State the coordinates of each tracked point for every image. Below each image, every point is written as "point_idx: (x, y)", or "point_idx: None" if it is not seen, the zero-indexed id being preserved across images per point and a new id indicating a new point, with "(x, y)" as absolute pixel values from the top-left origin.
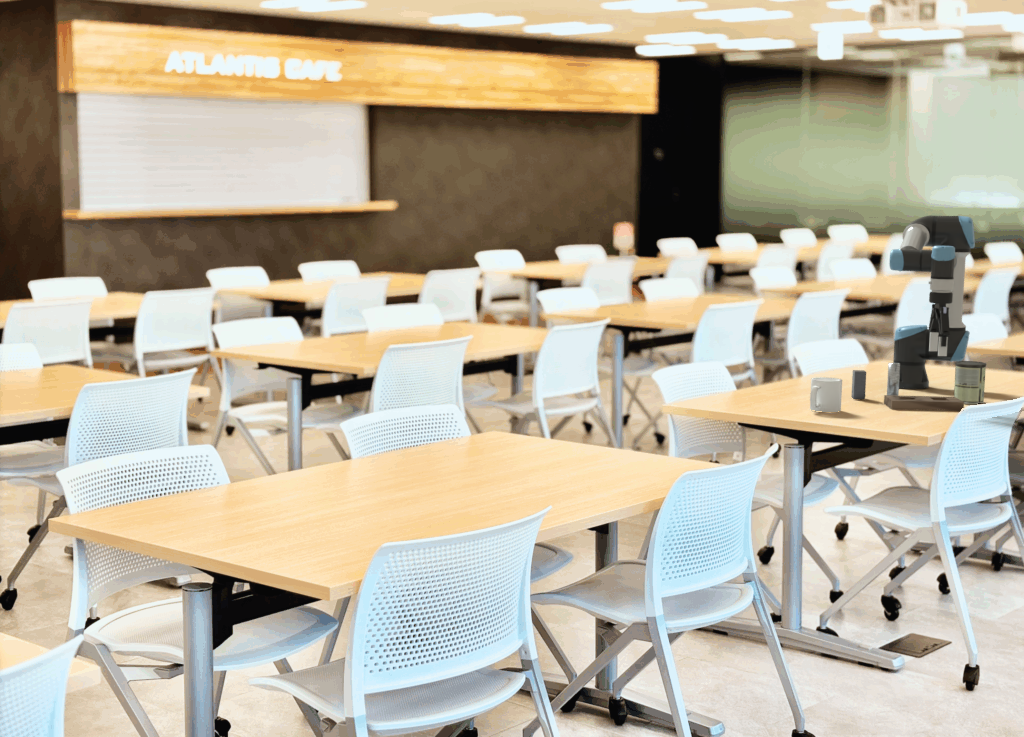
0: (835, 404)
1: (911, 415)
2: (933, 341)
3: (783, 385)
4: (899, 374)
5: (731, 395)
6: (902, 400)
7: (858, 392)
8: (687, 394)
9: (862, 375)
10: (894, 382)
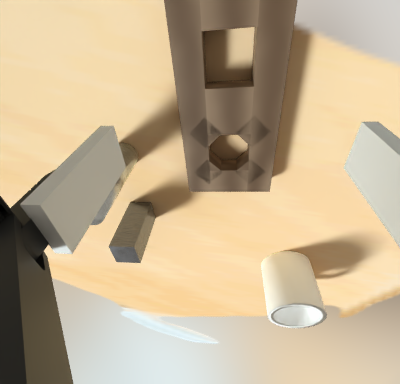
0: (312, 271)
1: None
2: (95, 184)
3: (56, 271)
4: None
5: (173, 315)
6: (267, 170)
7: (150, 221)
8: (180, 334)
9: (138, 245)
10: (123, 178)
